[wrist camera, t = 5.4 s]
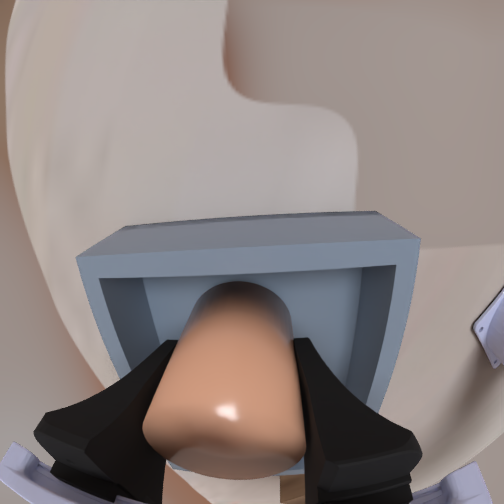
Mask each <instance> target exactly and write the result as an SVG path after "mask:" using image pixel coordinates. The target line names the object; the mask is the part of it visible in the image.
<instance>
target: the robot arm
mask: <svg viewBox="0 0 504 504" xmlns="http://www.w3.org/2000/svg"><path fill="white" fill-rule="evenodd" d="M473 329H474V331H475V333H476V335H477V337H478V339H479V340H480V342H481V344H482V346H483V348H484V350H485V352H486V354H487V356H488V359H489V361H490V363H491V365H492V367H493V368H494V369H495V368H497V367H498V366H499V365H500V364H501V363H502V364H503V365H504V289H503V290H502V291H501V293H500V294H499V295H498V296H497V298H496V299H495V300H494V301H493V303H492V304H491V305H490V306H489V307H488V308H487V310H486V311H485V312H484V313H483V314H482V315H481V317H480V318H479V319H478V320H477V321H476V322H475V324H474V326H473ZM177 342H178V340H168V339H167V340H166V341H165V342H163V343H162V344H161V345H160V346H159V347H158V348H157V349H156V350H155V351H154V352H152V353H151V354H150V355H149V356H148V357H147V358H146V359H145V360H144V361H142V362H141V363H140V364H139V365H138V366H137V367H135V368H134V369H133V370H132V371H130V372H129V373H128V374H127V375H125V376H124V377H123V378H122V379H120V380H119V381H117V382H116V383H114V384H113V385H111V386H110V387H108V388H107V389H105V390H103V391H101V392H100V393H98V394H96V395H94V396H92V397H90V398H88V399H86V400H83V401H81V402H79V403H77V404H74V405H71V406H68V407H65V408H62V409H59V410H55V411H51V412H47V413H45V415H44V417H43V418H42V420H41V421H40V423H39V424H38V426H37V427H36V429H35V430H34V436H35V438H36V440H37V441H38V442H39V443H40V445H41V446H42V447H43V448H44V449H45V450H46V451H47V452H48V453H49V454H50V455H51V456H52V457H53V458H54V459H55V460H56V461H55V463H54V464H53V467H50V466H48V465H46V464H44V463H43V462H41V461H39V459H38V458H37V457H36V456H35V455H34V454H33V453H32V452H30V451H29V450H28V449H26V448H24V447H23V446H21V445H20V444H18V443H16V442H13V443H12V444H11V446H10V448H9V449H8V451H7V453H6V454H5V456H4V458H3V459H2V461H1V463H0V480H1V481H2V482H3V483H4V484H6V485H7V486H8V487H9V488H10V489H12V490H13V491H14V492H16V493H17V494H19V495H20V496H21V497H22V498H24V499H25V500H27V501H28V502H30V503H31V504H162V493H163V492H162V491H163V481H164V472H165V465H166V459H165V458H164V457H162V456H161V455H160V454H159V453H157V452H156V451H155V450H154V449H153V448H152V447H151V446H150V444H149V443H148V441H147V440H146V438H145V436H144V434H143V429H142V428H143V422H144V419H145V417H146V414H147V412H148V409H149V407H150V405H151V402H152V400H153V397H154V395H155V393H156V390H157V388H158V386H159V383H160V381H161V379H162V376H163V374H164V372H165V370H166V367H167V365H168V363H169V360H170V358H171V356H172V354H173V351H174V349H175V347H176V345H177ZM294 348H295V356H296V361H297V367H298V374H299V382H300V391H301V400H302V409H303V418H304V428H305V438H306V452H305V454H304V474H305V504H493V502H492V500H491V497H490V494H489V491H488V490H487V486H486V484H485V481H484V479H483V476H482V474H481V472H480V469H479V467H478V465H477V463H476V461H473V462H471V463H469V464H468V465H465V466H463V467H461V468H459V469H457V470H455V471H453V472H451V473H450V474H448V475H447V476H445V477H444V478H443V479H442V480H441V482H440V483H438V484H435V485H433V486H430V487H428V488H425V489H423V490H420V491H417V492H414V493H412V492H411V489H410V485H409V483H411V481H412V479H411V476H410V472H411V471H412V470H413V469H414V467H415V466H416V465H417V464H418V463H419V461H420V459H421V458H422V451H421V448H420V445H419V443H418V441H417V439H416V438H415V436H414V434H413V433H412V431H410V430H408V429H405V428H403V427H401V426H399V425H397V424H395V423H393V422H391V421H389V420H388V419H386V418H384V417H383V416H381V415H379V414H378V413H377V412H375V411H374V410H372V409H371V408H370V407H368V406H367V405H365V404H364V403H363V402H362V401H360V400H359V399H358V398H357V397H356V396H355V395H353V394H352V393H351V392H350V391H349V390H348V389H347V388H346V387H345V386H344V385H343V384H342V383H341V382H340V380H339V379H338V378H337V377H336V376H335V375H334V374H333V372H332V371H331V370H330V369H329V367H328V366H327V365H326V363H325V362H324V361H323V359H322V358H321V356H320V355H319V353H318V352H317V350H316V349H315V347H314V345H313V343H312V342H311V340H310V339H309V338H308V337H305V338H294Z"/></svg>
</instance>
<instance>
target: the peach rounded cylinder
mask: <svg viewBox="0 0 504 504" xmlns="http://www.w3.org/2000/svg"><path fill="white" fill-rule="evenodd" d="M142 429H143V434H144V436H145V438H146V440H147V441H148V443H149V444H150V446H151V447H152V448H153V449H154V450H155V451H156V452H157V453H159V454H160V455H161V456H162V457H164V458H165V459H167V460H168V461H170V462H172V463H174V464H175V465H177V466H179V467H182V468H184V469H186V470H189V471H192V472H195V473H198V474H201V475H205V476H210V477H215V478H222V479H234V480H247V479H257V478H264V477H268V476H272V475H276V474H279V473H281V472H284V471H286V470H288V469H290V468H291V467H293V466H294V465H296V464H297V463H298V462H299V461H300V460H301V459H302V457H303V456H304V454H305V452H306V438H305V428H304V418H303V409H302V400H301V391H300V382H299V374H298V367H297V361H296V356H295V348H294V333H293V326H292V319H291V315H290V312H289V310H288V308H287V306H286V305H285V303H284V302H283V300H282V299H281V298H280V297H279V296H278V295H276V294H275V293H274V292H272V291H271V290H269V289H267V288H265V287H263V286H261V285H258V284H255V283H250V282H242V281H234V282H227V283H222V284H219V285H217V286H214V287H212V288H211V289H209V290H207V291H206V292H205V293H204V294H202V295H201V296H200V298H199V299H198V300H197V302H196V303H195V305H194V307H193V309H192V312H191V314H190V316H189V318H188V320H187V322H186V325H185V327H184V329H183V331H182V334H181V336H180V338H179V340H178V342H177V345H176V347H175V349H174V351H173V354H172V356H171V358H170V360H169V363H168V365H167V367H166V370H165V372H164V374H163V376H162V379H161V381H160V383H159V386H158V388H157V390H156V393H155V395H154V397H153V400H152V402H151V405H150V407H149V409H148V412H147V414H146V417H145V419H144V422H143V428H142Z"/></svg>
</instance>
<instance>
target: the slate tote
mask: <svg viewBox="0 0 504 504" xmlns="http://www.w3.org/2000/svg"><path fill="white" fill-rule="evenodd" d="M420 240H421V239H420V238H419V237H418V236H416V235H414V234H413V233H411V232H410V231H408V230H406V229H405V228H403V227H402V226H400V225H398V224H397V223H395V222H393V221H392V220H390V219H388V218H387V217H385V216H383V215H382V214H380V213H378V212H377V211H353V212H321V213H297V214H276V215H258V216H242V217H227V218H213V219H200V220H187V221H175V222H164V223H154V224H143V225H133V226H125V227H123V228H122V229H120V230H118V231H116V232H115V233H113V234H112V235H110V236H108V237H107V238H105V239H103V240H102V241H100V242H98V243H97V244H95V245H94V246H92V247H91V248H89V249H87V250H86V251H84V252H83V253H81V254H80V255H78V256H77V257H76V260H77V264H78V267H79V271H80V275H81V278H82V281H83V285H84V288H85V291H86V294H87V298H88V301H89V304H90V307H91V309H92V312H93V315H94V318H95V321H96V323H97V326H98V329H99V331H100V334H101V336H102V339H103V341H104V344H105V346H106V349H107V351H108V353H109V356H110V358H111V360H112V363H113V365H114V367H115V369H116V371H117V373H118V376H119V378H120V379H122V378H123V377H124V376H125V375H127V374H128V373H129V372H130V371H132V370H133V369H134V368H135V367H137V366H138V365H139V364H140V363H141V362H142V361H144V360H145V359H146V358H147V357H148V356H149V355H150V354H151V353H152V352H154V351H155V350H156V349H157V348H158V347H159V346H160V345H161V344H162V343H163V342H165V341H166V340H167V339H168V340H179V338H180V336H181V334H182V331H183V329H184V327H185V325H186V322H187V320H188V318H189V316H190V314H191V312H192V309H193V307H194V305H195V303H196V302H197V300H198V299H199V298H200V296H201V295H202V294H204V293H205V292H206V291H207V290H209V289H211V288H212V287H214V286H217V285H219V284H222V283H227V282H234V281H242V282H250V283H255V284H258V285H261V286H263V287H265V288H267V289H269V290H271V291H272V292H274V293H275V294H276V295H278V296H279V297H280V298H281V299H282V300H283V302H284V303H285V305H286V306H287V308H288V310H289V312H290V315H291V319H292V326H293V333H294V338H305V337H308V338H309V339H310V340H311V342H312V343H313V345H314V347H315V349H316V350H317V352H318V353H319V355H320V356H321V358H322V359H323V361H324V362H325V363H326V365H327V366H328V367H329V369H330V370H331V371H332V372H333V374H334V375H335V376H336V377H337V378H338V379H339V380H340V382H341V383H342V384H343V385H344V386H345V387H346V388H347V389H348V390H349V391H350V392H351V393H352V394H353V395H355V396H356V397H357V398H358V399H359V400H360V401H362V402H363V403H364V404H365V405H367V406H368V407H370V408H371V409H372V410H374V411H375V412H377V413H378V412H379V409H380V407H381V404H382V402H383V399H384V396H385V393H386V391H387V388H388V385H389V382H390V379H391V376H392V373H393V370H394V366H395V363H396V360H397V356H398V353H399V349H400V346H401V342H402V338H403V334H404V330H405V326H406V322H407V318H408V313H409V309H410V304H411V299H412V294H413V288H414V283H415V277H416V271H417V264H418V257H419V249H420ZM167 461H168V460H167ZM168 462H169V464H170V465H171V467H172V468H173V469H177V470H183V471H189V470H186V469H184V468H182V467H179V466H177V465H175V464H174V463H172V462H170V461H168ZM191 472H192V471H191ZM297 474H304V456H303V457H302V459H301V460H300V461H299V462H298V463H297V464H296V465H294V466H293V467H291V468H290V469H288V470H286V471H284V472H281V473H279V474H276V475H272V476H279V475H297Z"/></svg>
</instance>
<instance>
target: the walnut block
mask: <svg viewBox="0 0 504 504" xmlns="http://www.w3.org/2000/svg"><path fill="white" fill-rule="evenodd" d="M280 503H283V504H305V474H297V475H280Z"/></svg>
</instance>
